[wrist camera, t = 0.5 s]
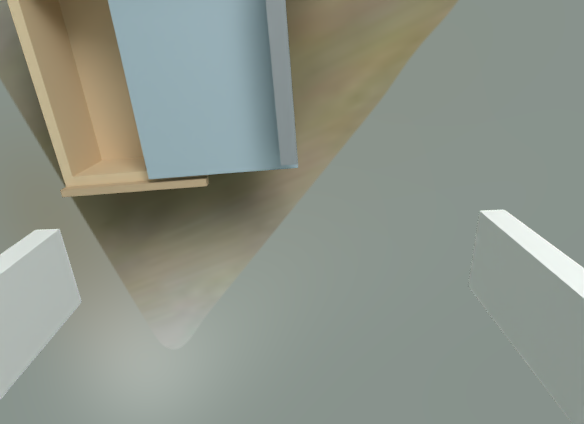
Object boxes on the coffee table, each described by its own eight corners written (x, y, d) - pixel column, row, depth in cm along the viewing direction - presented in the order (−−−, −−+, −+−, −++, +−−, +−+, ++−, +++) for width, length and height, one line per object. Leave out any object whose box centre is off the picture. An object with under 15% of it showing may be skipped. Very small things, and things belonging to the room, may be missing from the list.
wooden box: (44, -29, 32) (-18, -50, 25) (189, -43, 31) (163, -67, 25) (100, 173, 38) (62, 197, 32) (221, 163, 38) (207, 186, 31)
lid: (103, -40, 26) (73, -55, 22) (281, -57, 26) (279, -75, 22) (152, 176, 32) (135, 191, 28) (297, 164, 31) (298, 179, 28)
